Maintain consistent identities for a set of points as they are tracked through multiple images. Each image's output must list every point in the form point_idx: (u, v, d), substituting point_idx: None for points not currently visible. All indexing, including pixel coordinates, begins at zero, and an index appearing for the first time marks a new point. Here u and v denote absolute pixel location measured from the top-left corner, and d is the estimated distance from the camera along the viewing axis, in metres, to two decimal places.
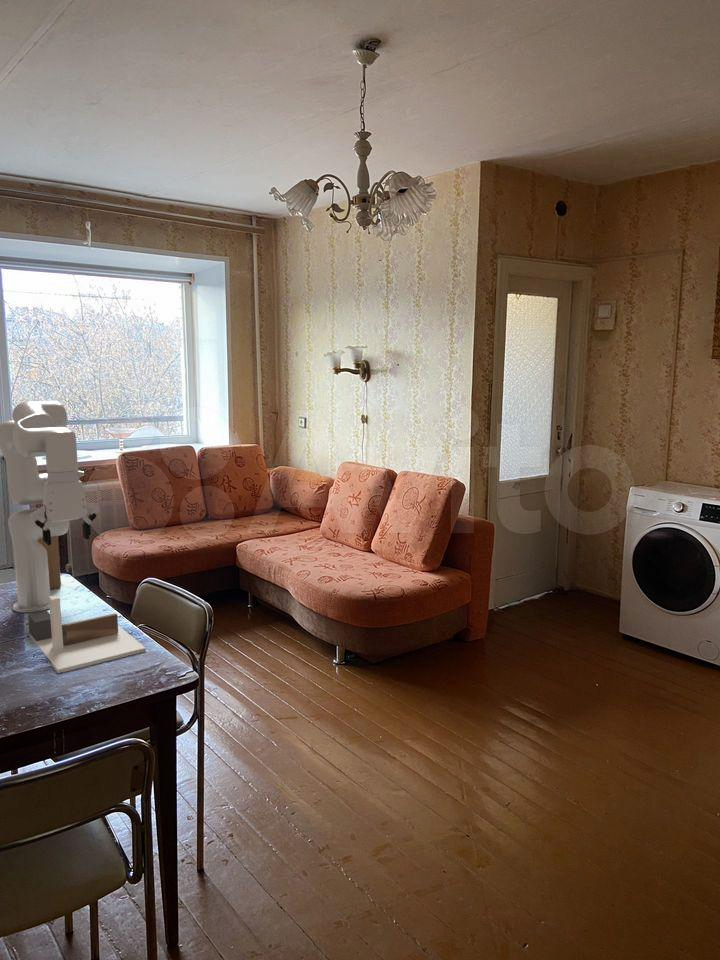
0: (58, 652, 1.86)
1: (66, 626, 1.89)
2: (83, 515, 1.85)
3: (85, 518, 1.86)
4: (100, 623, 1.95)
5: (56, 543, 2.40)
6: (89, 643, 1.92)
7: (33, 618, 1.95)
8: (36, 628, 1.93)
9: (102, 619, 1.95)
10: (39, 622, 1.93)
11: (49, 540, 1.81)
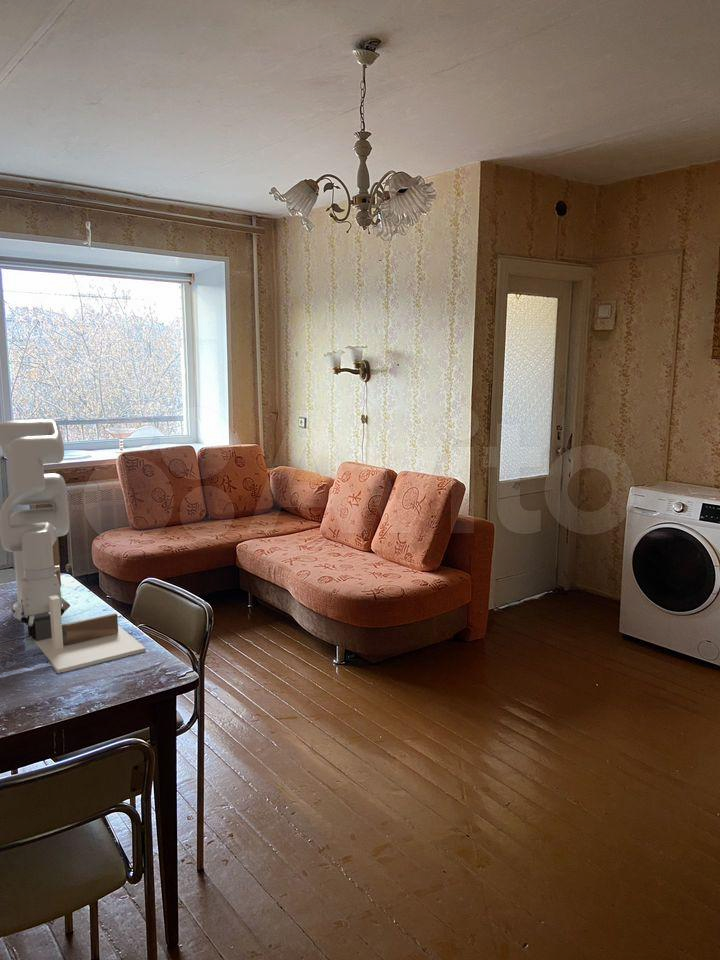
0: (58, 652, 1.86)
1: (66, 626, 1.89)
2: None
3: None
4: (100, 623, 1.95)
5: (56, 543, 2.40)
6: (89, 643, 1.92)
7: None
8: (36, 628, 1.93)
9: (102, 619, 1.95)
10: (39, 622, 1.93)
11: (34, 635, 1.93)
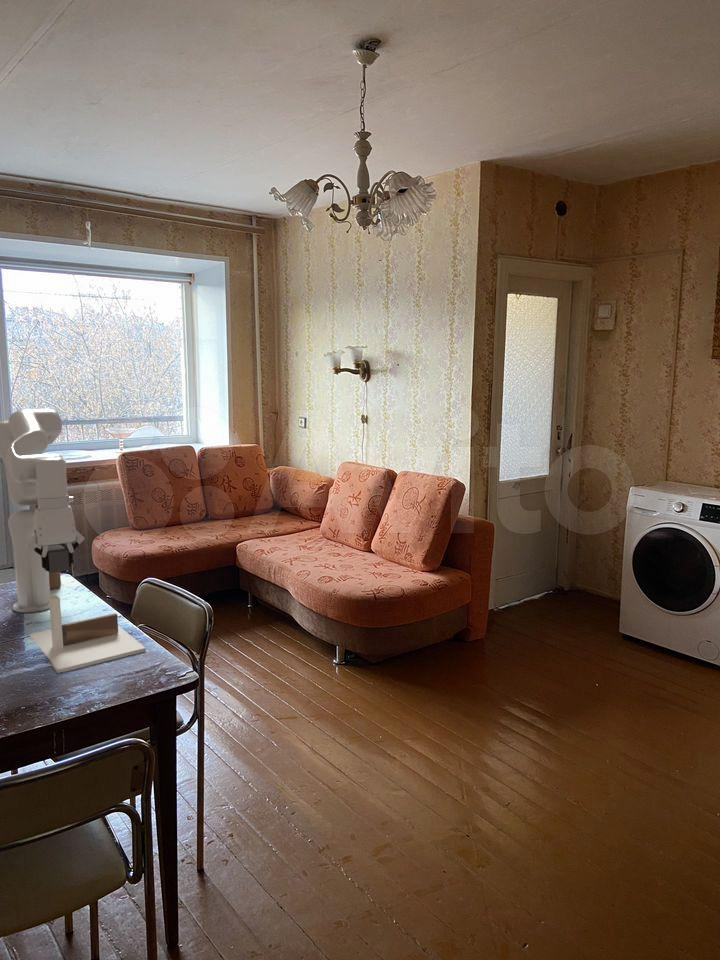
0: (58, 652, 1.86)
1: (66, 626, 1.89)
2: (73, 539, 1.91)
3: (69, 546, 1.91)
4: (100, 623, 1.95)
5: None
6: (89, 643, 1.92)
7: None
8: (50, 559, 1.88)
9: (102, 619, 1.95)
10: (53, 553, 1.88)
11: (47, 566, 1.88)
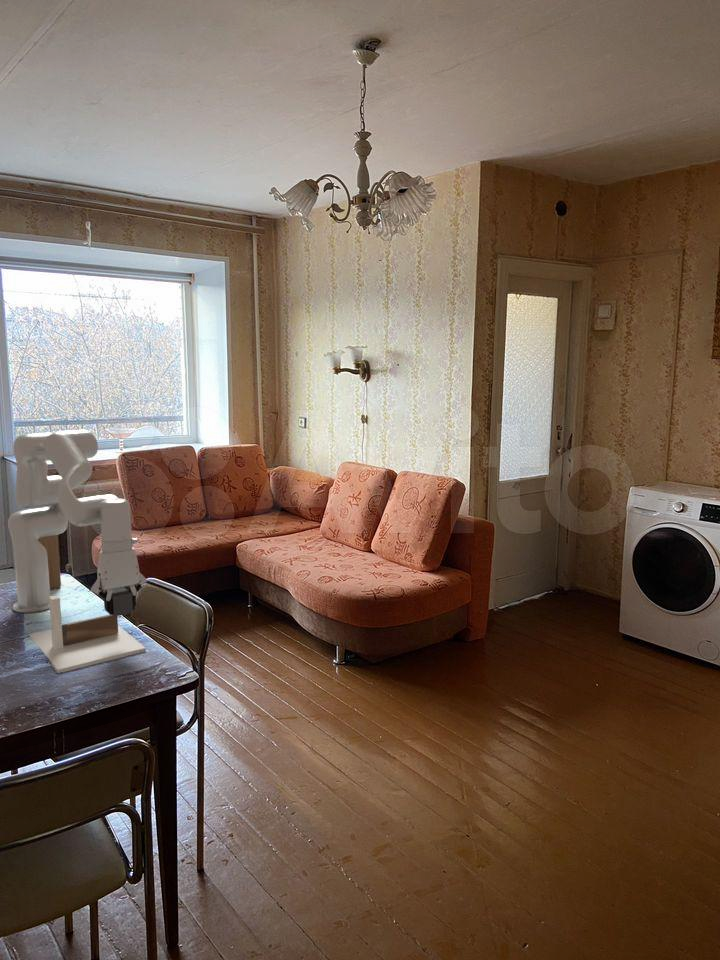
0: (58, 652, 1.86)
1: (66, 626, 1.89)
2: (136, 582, 1.88)
3: (133, 588, 1.88)
4: (100, 623, 1.95)
5: (56, 543, 2.40)
6: (89, 643, 1.92)
7: None
8: (114, 603, 1.85)
9: (102, 619, 1.95)
10: (117, 597, 1.85)
11: (112, 610, 1.85)
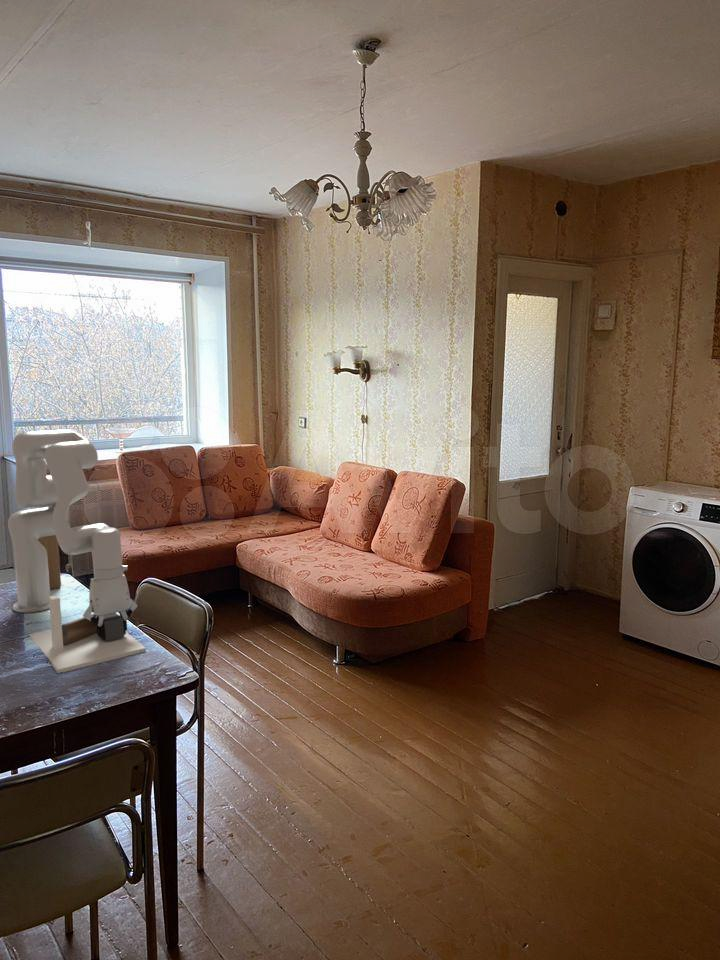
0: (58, 652, 1.86)
1: (67, 626, 1.90)
2: (127, 607, 1.95)
3: (124, 613, 1.95)
4: None
5: (56, 543, 2.40)
6: (89, 643, 1.92)
7: None
8: (106, 628, 1.92)
9: None
10: (108, 622, 1.92)
11: (103, 635, 1.92)
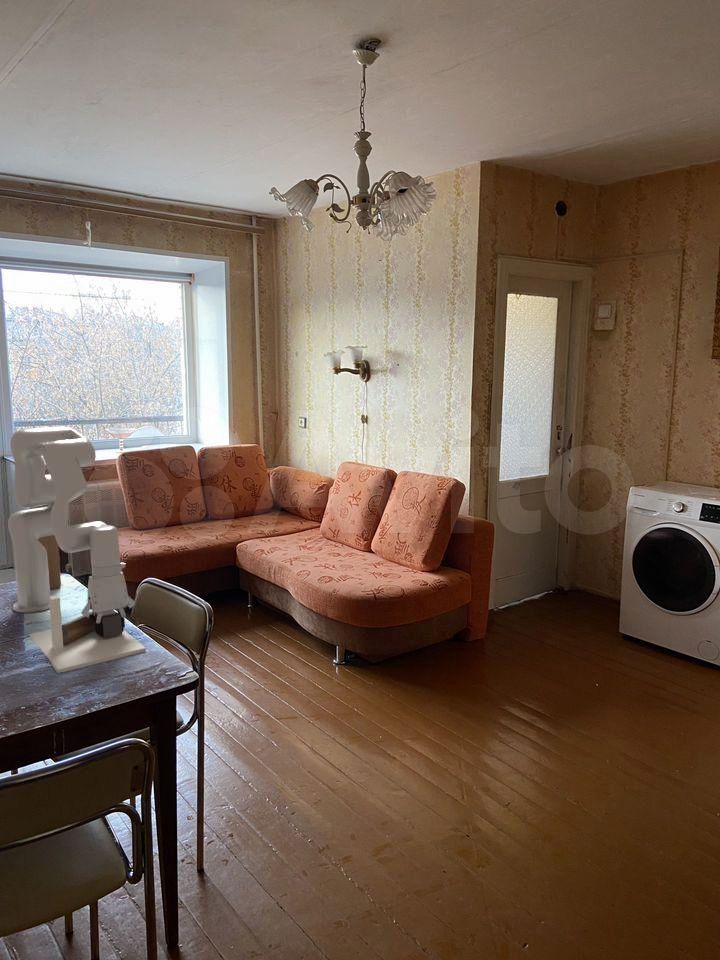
0: (58, 652, 1.86)
1: (67, 625, 1.90)
2: (125, 604, 1.97)
3: (121, 611, 1.97)
4: (90, 619, 1.98)
5: (56, 543, 2.40)
6: (89, 643, 1.92)
7: None
8: (104, 625, 1.94)
9: None
10: (106, 619, 1.94)
11: (101, 632, 1.94)
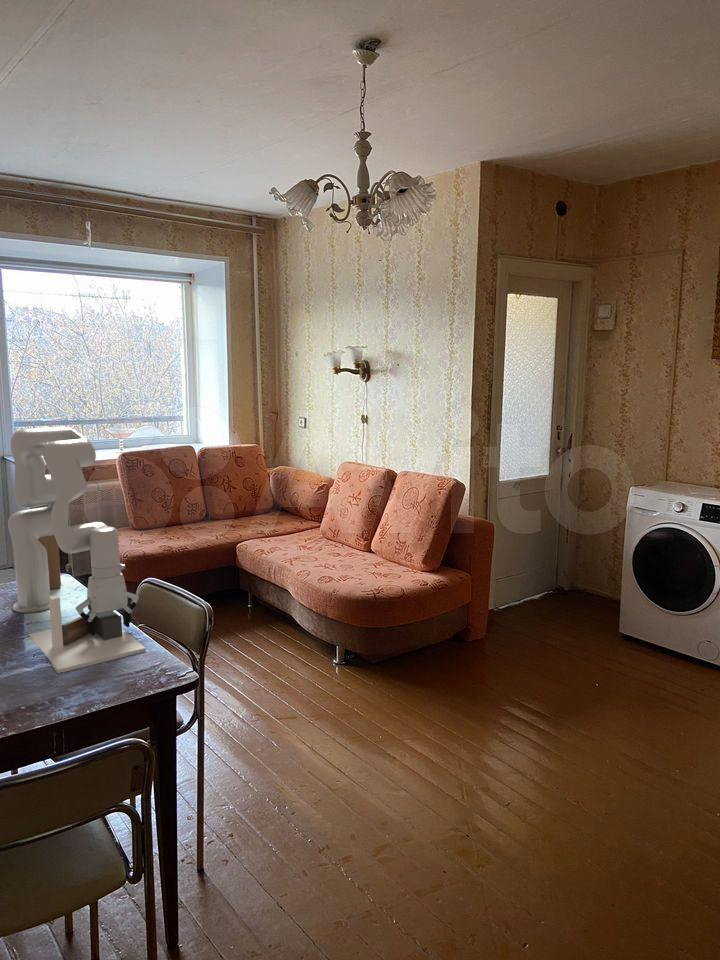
0: (58, 652, 1.86)
1: (67, 625, 1.90)
2: (124, 605, 1.97)
3: (126, 608, 1.98)
4: None
5: (56, 543, 2.40)
6: (89, 643, 1.92)
7: (100, 617, 1.96)
8: (104, 627, 1.94)
9: None
10: (107, 621, 1.94)
11: (93, 631, 1.93)
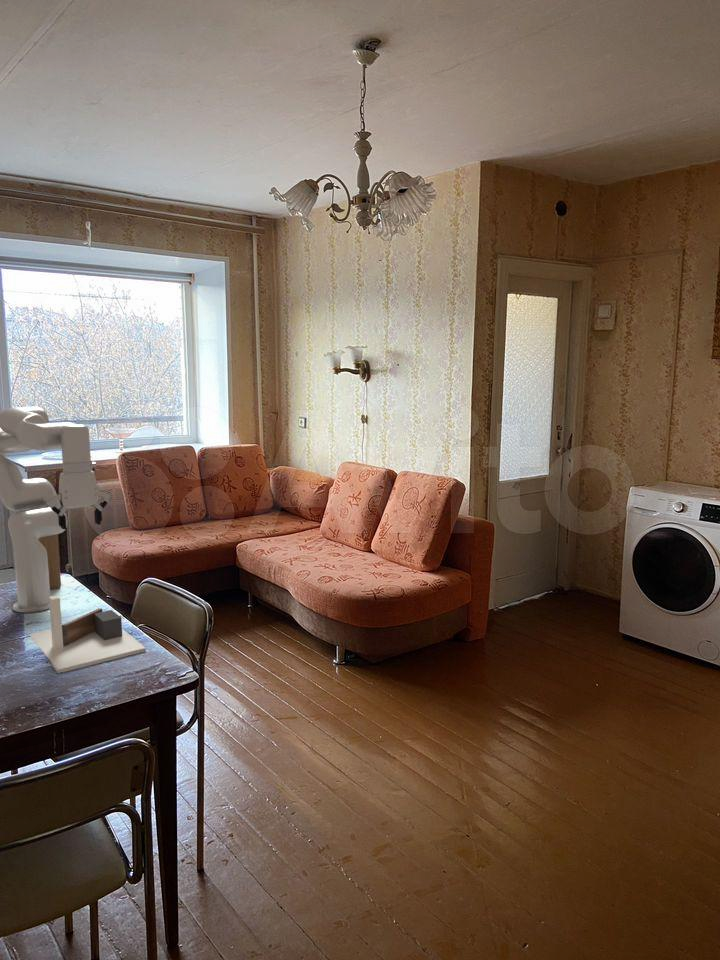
0: (58, 652, 1.86)
1: (67, 625, 1.90)
2: (95, 502, 2.03)
3: (97, 505, 2.04)
4: (90, 619, 1.98)
5: (56, 543, 2.40)
6: (89, 643, 1.92)
7: (100, 617, 1.96)
8: (104, 627, 1.94)
9: (92, 615, 1.99)
10: (107, 621, 1.94)
11: (64, 525, 1.99)
